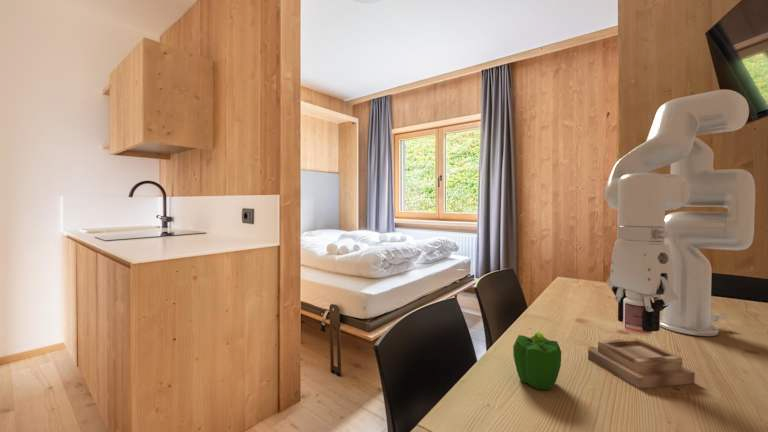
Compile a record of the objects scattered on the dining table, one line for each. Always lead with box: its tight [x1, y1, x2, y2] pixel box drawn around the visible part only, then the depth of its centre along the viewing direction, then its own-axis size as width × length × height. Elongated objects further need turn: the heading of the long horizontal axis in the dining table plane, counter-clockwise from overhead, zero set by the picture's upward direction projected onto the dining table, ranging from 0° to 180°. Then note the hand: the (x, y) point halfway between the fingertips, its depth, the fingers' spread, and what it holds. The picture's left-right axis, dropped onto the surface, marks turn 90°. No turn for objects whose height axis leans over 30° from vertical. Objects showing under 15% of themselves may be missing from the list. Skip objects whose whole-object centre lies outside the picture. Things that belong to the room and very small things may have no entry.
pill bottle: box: [622, 290, 653, 337], centre depth 66 cm, size 5×5×8 cm
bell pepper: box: [512, 331, 562, 391], centre depth 62 cm, size 8×8×10 cm
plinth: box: [587, 337, 696, 390], centre depth 67 cm, size 12×12×4 cm
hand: (637, 324), depth 66 cm, fingers closed on pill bottle, 4 cm apart
